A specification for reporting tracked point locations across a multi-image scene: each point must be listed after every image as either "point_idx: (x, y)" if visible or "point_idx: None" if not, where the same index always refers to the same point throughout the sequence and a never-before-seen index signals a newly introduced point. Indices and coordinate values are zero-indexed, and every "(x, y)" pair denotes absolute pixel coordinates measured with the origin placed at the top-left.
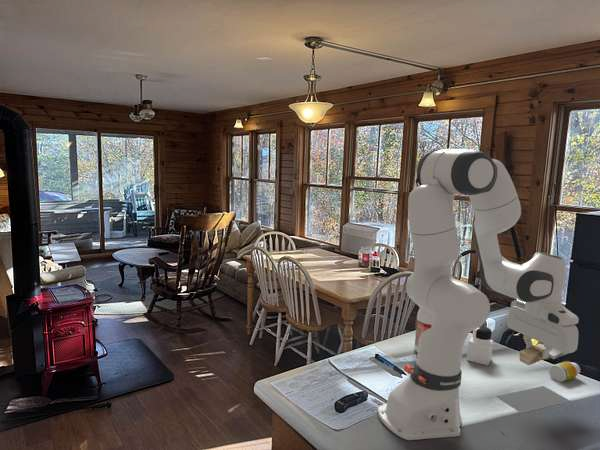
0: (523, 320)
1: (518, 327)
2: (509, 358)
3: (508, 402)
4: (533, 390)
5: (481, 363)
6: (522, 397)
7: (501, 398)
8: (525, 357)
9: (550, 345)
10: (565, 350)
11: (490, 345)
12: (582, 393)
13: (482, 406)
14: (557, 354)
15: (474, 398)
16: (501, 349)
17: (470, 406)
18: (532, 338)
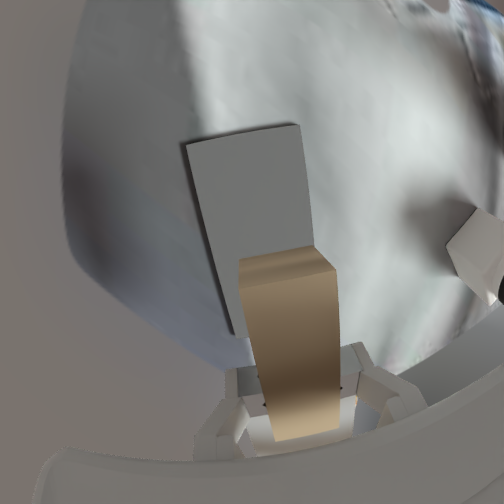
0: (488, 491)
1: (488, 413)
2: (439, 320)
3: (254, 143)
4: None
5: (457, 233)
6: (276, 217)
7: (282, 135)
8: (269, 270)
9: (154, 468)
10: (53, 459)
11: (484, 280)
12: None
13: (255, 46)
14: (249, 432)
15: (306, 52)
16: (463, 324)
17: (260, 11)
18: (343, 440)
